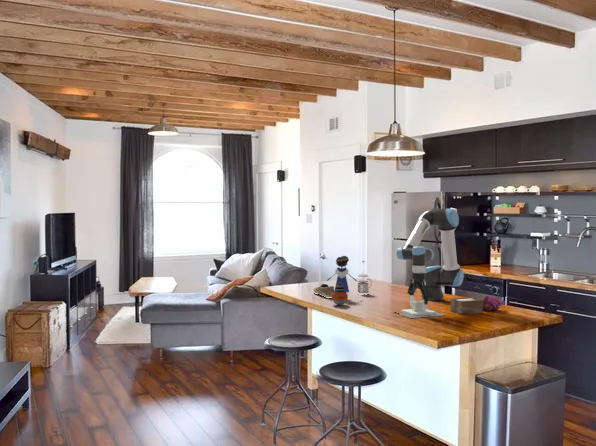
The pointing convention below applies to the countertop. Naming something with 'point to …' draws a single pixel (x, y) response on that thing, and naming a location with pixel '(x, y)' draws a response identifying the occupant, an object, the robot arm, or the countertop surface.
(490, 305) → the anatomical model
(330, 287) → the slip on shoe
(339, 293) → the grenade
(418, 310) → the lid
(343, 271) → the figurine
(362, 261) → the french press
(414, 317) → the mat
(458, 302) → the storage box
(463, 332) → the countertop surface
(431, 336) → the countertop surface
